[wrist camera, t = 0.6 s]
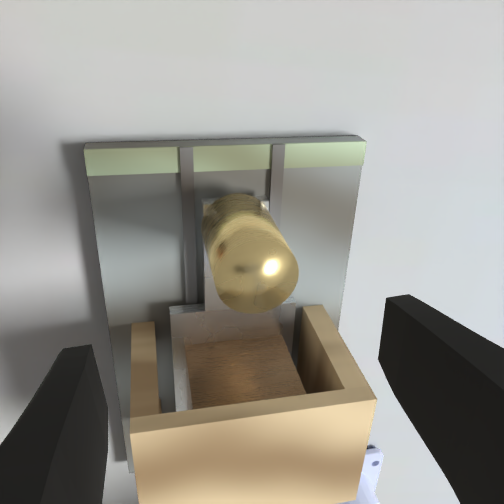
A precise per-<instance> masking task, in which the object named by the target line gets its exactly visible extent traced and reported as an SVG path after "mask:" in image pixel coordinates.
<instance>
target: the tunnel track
mask: <svg viewBox="0 0 504 504" xmlns="http://www.w3.org/2000/svg"><path fill="white" fill-rule="evenodd" d="M366 143H367V141H365V140H364V139H362V138H361V137H359V136H324V137H287V138H249V139H211V140H173V141H136V142H98V143H86V144H85V147H84V157H85V164H86V171H87V176H88V183H89V190H90V197H91V205H92V212H93V219H94V226H95V233H96V240H97V247H98V255H99V262H100V269H101V276H102V283H103V290H104V298H105V305H106V312H107V319H108V326H109V333H110V340H111V348H112V355H113V362H114V369H115V376H116V383H117V390H118V398H119V405H120V412H121V419H122V426H123V433H124V441H125V448H126V455H127V462H128V469H129V473H134V472H135V477H136V485H137V493H138V500H139V504H337V503H342V502H348V501H353V500H356V496H357V491H358V486H359V482H360V477H361V472H362V468H363V463H364V458H365V454H366V449H367V444H368V440H369V435H370V430H371V426H372V421H373V416H374V412H375V407H376V402H377V398H376V396H375V394H374V393H373V391H372V389H371V388H370V386H369V384H368V382H367V381H366V379H365V377H364V375H363V374H362V372H361V370H360V369H359V367H358V365H357V363H356V362H355V360H354V358H353V356H352V355H351V353H350V351H349V350H348V348H347V346H346V344H345V343H344V341H343V339H342V337H341V336H340V334H339V332H338V327H339V320H340V313H341V306H342V299H343V292H344V286H345V279H346V272H347V265H348V258H349V251H350V245H351V238H352V231H353V224H354V217H355V211H356V204H357V197H358V190H359V183H360V176H361V170H362V165H363V163H364V156H365V150H366ZM233 193H244V194H248V195H251V196H262V195H266V197H267V198H268V200H269V213H270V215H271V217H272V218H273V220H274V222H275V224H276V225H277V227H278V229H279V231H280V232H281V234H282V236H283V237H284V239H285V241H286V243H287V244H288V246H289V248H290V250H291V251H292V253H293V255H294V256H295V258H296V260H297V263H298V268H299V277H298V282H297V285H296V287H295V289H294V291H293V292H292V294H291V295H293V297H294V299H295V301H296V310H295V321H294V332H293V343H292V354H291V358H292V360H293V363H294V365H295V367H296V370H297V372H298V375H299V377H300V380H301V382H302V384H303V387H304V389H305V392H306V394H305V395H297V396H290V397H282V398H275V399H268V400H260V401H253V402H245V403H238V404H231V405H223V406H216V407H208V408H201V409H193V410H186V411H179V412H176V405H175V389H174V373H173V357H172V341H171V325H170V309H169V306H180V305H191V304H202V303H204V301H203V253H202V233H201V223H202V205H201V199H202V198H221V197H223V196H225V195H228V194H233Z"/></svg>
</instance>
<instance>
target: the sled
mask: <svg viewBox="0 0 504 504" xmlns="http://www.w3.org/2000/svg"><path fill="white" fill-rule="evenodd" d="M201 205H202V223H201V233H202V253H203V301H204V303H202V304H191V305H180V306H169V309H170V325H171V341H172V357H173V373H174V389H175V405H176V412H179V411H186V410H193V409H201V408H208V407H216V406H223V405H231V404H238V403H245V402H253V401H260V400H268V399H275V398H282V397H290V396H297V395H305V394H306V392H305V389H304V387H303V384H302V382H301V380H300V377H299V375H298V372H297V370H296V367H295V365H294V363H293V360H292V358H291V354H292V343H293V332H294V321H295V310H296V301H295V299H294V297H293V295H291V294H292V292H293V291H294V289H295V287H296V285H297V282H298V277H299V268H298V263H297V260H296V258H295V256H294V255H293V253H292V251H291V250H290V248H289V246H288V244H287V243H286V241H285V239H284V237H283V236H282V234H281V232H280V231H279V229H278V227H277V225H276V224H275V222H274V220H273V218H272V217H271V215H270V213H269V200H268V198H267V197H266V195H262V196H251V195H248V194H244V193H233V194H228V195H225V196H223V197H221V198H202V199H201Z"/></svg>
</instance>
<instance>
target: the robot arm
mask: <svg viewBox="0 0 504 504" xmlns="http://www.w3.org/2000/svg"><path fill="white" fill-rule="evenodd" d="M378 360H379V362H380V365H381V367H382V369H383V372H384V374H385V376H386V378H387V380H388V383H389V385H390V387H391V389H392V391H393V393H394V395H395V397H396V398H397V400H398V401H399V403H400V405H401V406H402V408H403V410H404V411H405V413H406V414H407V416H408V418H409V419H410V421H411V422H412V424H413V425H414V427H415V429H416V430H417V432H418V433H419V435H420V436H421V438H422V440H423V441H424V443H425V444H426V446H427V447H428V449H429V451H430V452H431V454H432V455H433V457H434V458H435V460H436V462H437V463H438V465H439V466H440V468H441V469H442V471H443V473H444V474H445V476H446V478H447V480H448V481H449V483H450V485H451V487H452V488H453V490H454V492H455V494H456V496H457V498H458V500H459V502H460V504H504V348H502V347H500V346H498V345H497V344H495V343H493V342H491V341H489V340H487V339H486V338H484V337H482V336H480V335H479V334H477V333H475V332H473V331H472V330H470V329H468V328H466V327H465V326H463V325H461V324H460V323H458V322H456V321H454V320H453V319H451V318H449V317H448V316H446V315H444V314H443V313H441V312H439V311H438V310H436V309H434V308H432V307H431V306H429V305H427V304H426V303H424V302H422V301H420V300H418V299H417V298H415V297H413V296H411V295H409V294H408V295H401V296H395V297H389V298H386V303H385V311H384V318H383V326H382V334H381V341H380V349H379V356H378ZM107 453H108V407H107V403H106V399H105V395H104V391H103V387H102V384H101V380H100V376H99V372H98V368H97V364H96V361H95V357H94V353H93V349H92V345H91V344H90V345H84V346H78V347H71V348H65V349H63V350H62V351H61V352H60V353H59V355H58V357H57V359H56V360H55V362H54V364H53V365H52V367H51V369H50V371H49V372H48V374H47V376H46V377H45V379H44V381H43V382H42V384H41V385H40V387H39V389H38V390H37V392H36V393H35V395H34V397H33V398H32V400H31V401H30V403H29V404H28V406H27V407H26V409H25V410H24V412H23V413H22V415H21V416H20V418H19V419H18V421H17V422H16V424H15V425H14V427H13V428H12V430H11V431H10V432H9V434H8V435H7V436H6V438H5V439H4V441H3V442H2V443H1V445H0V504H102V498H103V489H104V481H105V472H106V463H107ZM382 461H383V453H382V451H381V449H379V448H373V449H367V450H366V454H365V458H364V463H363V468H362V472H361V477H360V482H359V486H358V491H357V496H356V500H353V501H348V502H342V503H337V504H380V503H379V501H378V499H377V497H376V494H375V490H376V485H377V481H378V477H379V473H380V469H381V465H382Z"/></svg>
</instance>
